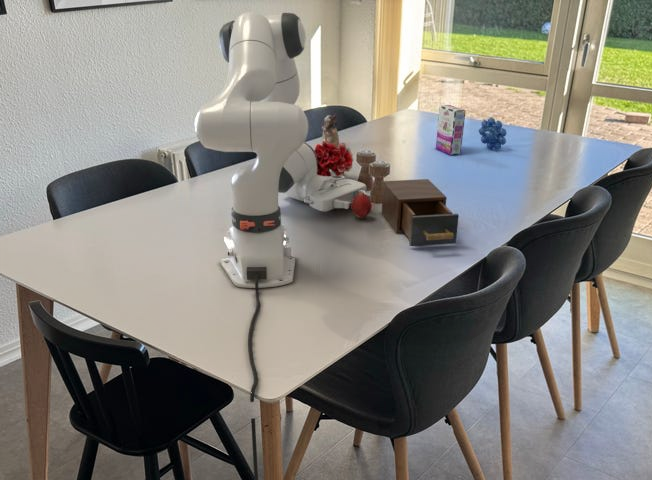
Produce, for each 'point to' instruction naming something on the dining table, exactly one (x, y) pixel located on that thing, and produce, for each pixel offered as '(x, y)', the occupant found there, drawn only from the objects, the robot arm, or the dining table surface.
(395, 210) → the cabinet
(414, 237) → the drawer
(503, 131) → the grapes
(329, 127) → the figurine
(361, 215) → the onion
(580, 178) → the dining table surface
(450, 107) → the candy bar box
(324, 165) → the carnation
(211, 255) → the dining table surface
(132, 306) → the dining table surface
